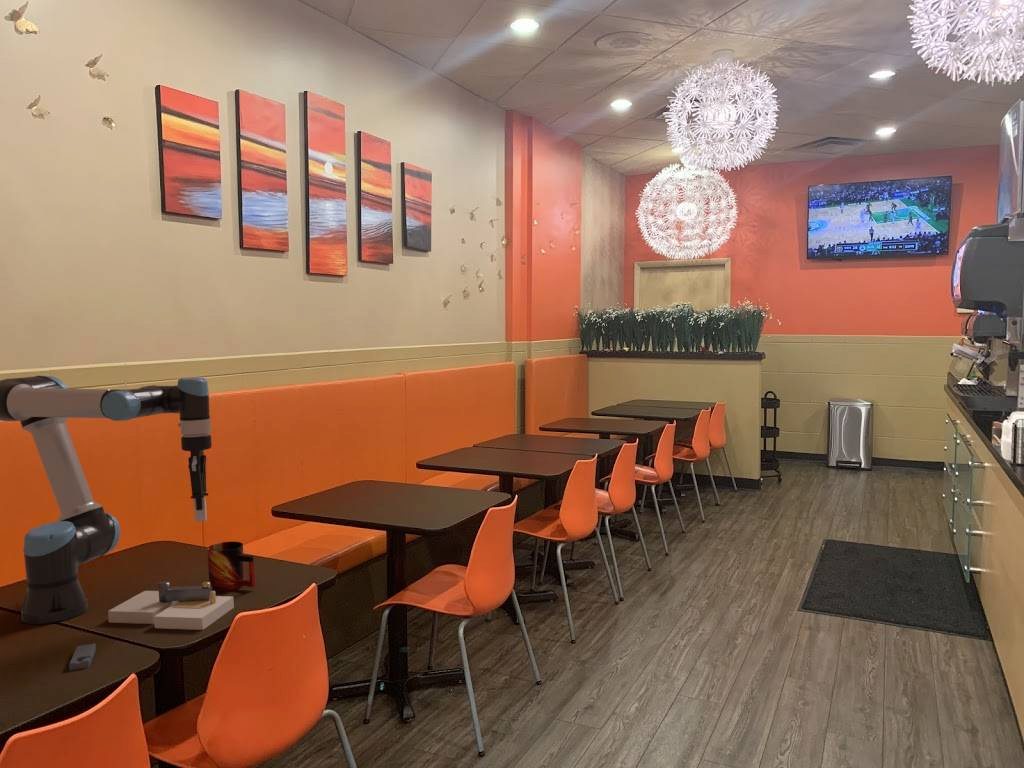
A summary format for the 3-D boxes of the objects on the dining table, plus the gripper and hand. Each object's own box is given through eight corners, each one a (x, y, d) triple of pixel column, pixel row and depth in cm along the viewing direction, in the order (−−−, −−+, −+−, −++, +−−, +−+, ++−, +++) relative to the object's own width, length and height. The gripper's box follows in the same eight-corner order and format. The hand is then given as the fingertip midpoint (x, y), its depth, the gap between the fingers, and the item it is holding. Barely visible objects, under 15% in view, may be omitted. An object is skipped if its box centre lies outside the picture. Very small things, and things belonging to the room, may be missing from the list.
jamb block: (108, 622, 193) (108, 611, 193) (145, 601, 208) (144, 590, 208) (153, 623, 191) (152, 612, 191) (187, 602, 206) (186, 591, 206)
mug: (254, 591, 214) (252, 549, 213) (204, 593, 213) (202, 551, 212) (263, 579, 224) (261, 540, 223) (215, 582, 223) (213, 542, 222)
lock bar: (157, 602, 197) (156, 585, 197) (162, 598, 200) (161, 581, 200) (209, 600, 198) (208, 583, 197) (213, 596, 200) (212, 579, 200)
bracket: (96, 651, 177) (95, 642, 177) (89, 669, 167) (88, 660, 167) (77, 654, 175) (76, 645, 175) (69, 672, 166) (68, 664, 166)
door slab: (154, 628, 189) (153, 604, 188) (188, 606, 203) (187, 584, 203) (202, 629, 187) (201, 606, 186) (233, 607, 201) (232, 585, 201)
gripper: (185, 432, 209) (190, 516, 211) (176, 439, 196) (181, 528, 198) (214, 431, 211) (219, 514, 212) (207, 437, 198) (212, 525, 200)
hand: (201, 520), depth 205 cm, fingers closed
